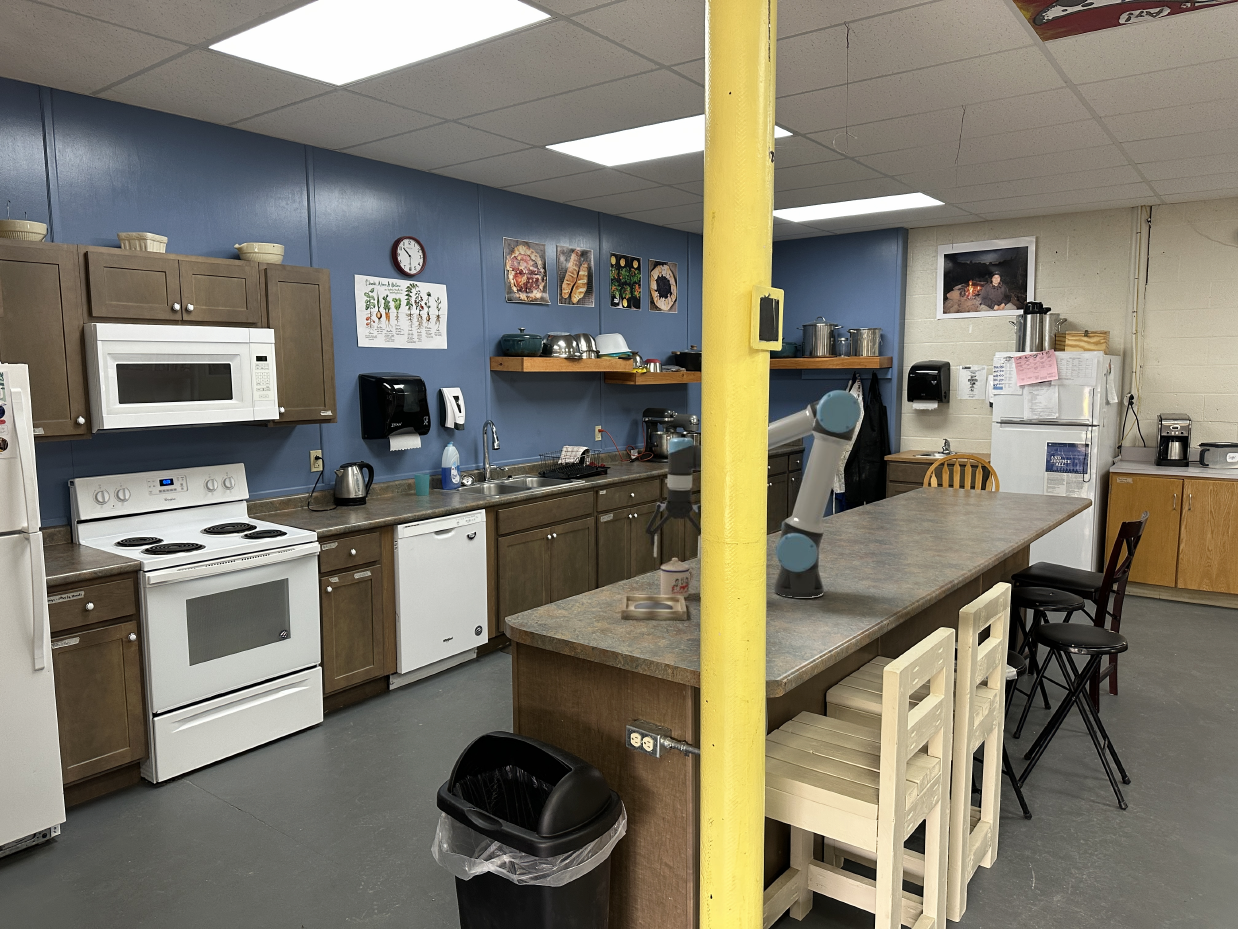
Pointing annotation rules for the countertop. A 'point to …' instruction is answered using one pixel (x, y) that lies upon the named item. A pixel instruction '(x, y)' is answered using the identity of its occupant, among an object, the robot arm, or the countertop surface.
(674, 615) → the birch tray
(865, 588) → the countertop surface
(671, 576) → the teacup with lid
